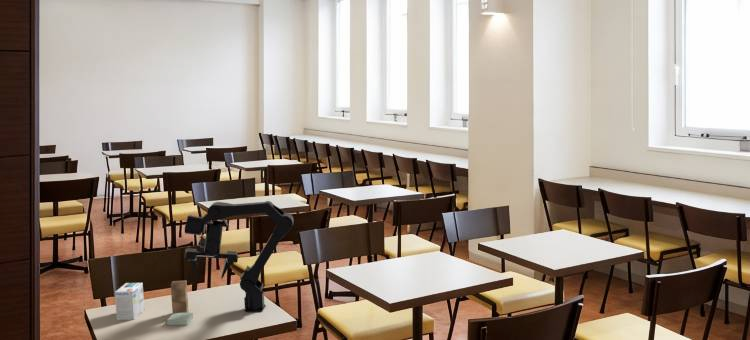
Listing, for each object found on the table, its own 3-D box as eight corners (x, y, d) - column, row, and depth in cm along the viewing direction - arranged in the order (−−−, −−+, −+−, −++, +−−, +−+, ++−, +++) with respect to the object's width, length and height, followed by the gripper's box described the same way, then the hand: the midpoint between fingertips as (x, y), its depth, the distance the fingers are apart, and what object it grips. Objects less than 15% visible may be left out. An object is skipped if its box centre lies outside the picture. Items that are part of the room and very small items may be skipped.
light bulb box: (127, 310, 259) (125, 282, 258) (145, 309, 259) (143, 282, 257) (116, 320, 248) (113, 291, 247) (134, 320, 248) (132, 291, 247)
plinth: (193, 318, 249) (193, 312, 248) (186, 325, 242) (186, 319, 241) (174, 318, 249) (173, 312, 249) (167, 325, 242) (167, 319, 242)
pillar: (188, 311, 256) (186, 280, 254) (186, 316, 251) (184, 284, 249) (174, 312, 255) (172, 281, 253) (172, 317, 250) (170, 285, 248)
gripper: (238, 233, 262) (233, 272, 264) (187, 229, 257) (183, 269, 259) (239, 240, 252) (235, 281, 254) (187, 237, 247) (182, 279, 249)
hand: (209, 277), depth 254 cm, fingers open, 9 cm apart
